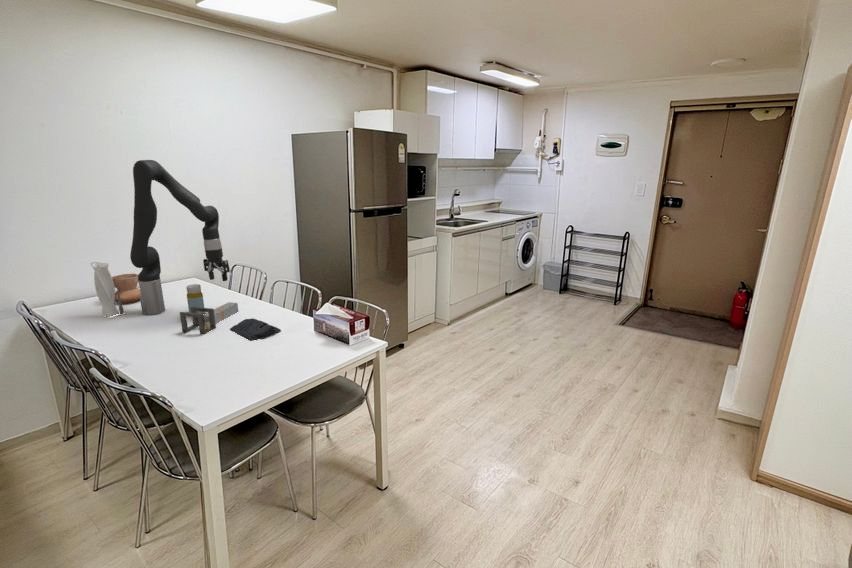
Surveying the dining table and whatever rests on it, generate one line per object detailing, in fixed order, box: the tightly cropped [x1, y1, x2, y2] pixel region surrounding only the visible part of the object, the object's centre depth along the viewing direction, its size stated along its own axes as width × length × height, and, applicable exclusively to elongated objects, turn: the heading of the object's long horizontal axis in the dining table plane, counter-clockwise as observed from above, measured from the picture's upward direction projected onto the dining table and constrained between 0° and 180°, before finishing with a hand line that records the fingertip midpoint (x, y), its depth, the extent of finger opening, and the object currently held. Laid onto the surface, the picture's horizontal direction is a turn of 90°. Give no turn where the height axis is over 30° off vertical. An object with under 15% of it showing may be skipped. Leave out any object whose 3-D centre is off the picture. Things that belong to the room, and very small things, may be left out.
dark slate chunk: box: [229, 318, 282, 342], centre depth 200 cm, size 15×22×5 cm
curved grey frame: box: [179, 307, 217, 335], centre depth 199 cm, size 11×8×10 cm
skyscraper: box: [89, 261, 125, 318], centre depth 213 cm, size 8×8×28 cm
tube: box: [203, 301, 239, 325], centre depth 214 cm, size 20×5×5 cm, turn 168°
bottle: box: [186, 283, 206, 314], centre depth 217 cm, size 7×7×15 cm
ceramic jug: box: [111, 272, 141, 304], centre depth 235 cm, size 18×14×14 cm
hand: (218, 280), depth 216 cm, fingers open, 8 cm apart
